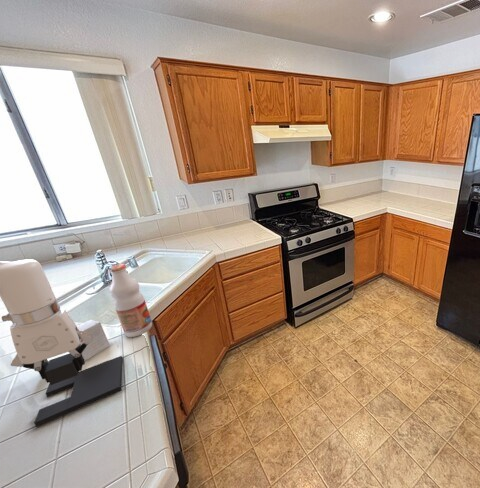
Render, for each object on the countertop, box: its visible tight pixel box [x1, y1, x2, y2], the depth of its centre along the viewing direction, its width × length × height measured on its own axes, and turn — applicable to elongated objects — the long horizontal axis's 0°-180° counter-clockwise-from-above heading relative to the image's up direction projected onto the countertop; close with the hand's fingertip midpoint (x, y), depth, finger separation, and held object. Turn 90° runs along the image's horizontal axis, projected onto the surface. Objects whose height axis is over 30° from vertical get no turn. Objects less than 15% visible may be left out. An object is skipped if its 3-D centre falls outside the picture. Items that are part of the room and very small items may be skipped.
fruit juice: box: [108, 263, 153, 338], centre depth 100 cm, size 9×9×28 cm
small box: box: [76, 319, 111, 361], centre depth 93 cm, size 8×6×10 cm
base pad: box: [33, 355, 124, 428], centre depth 79 cm, size 18×16×2 cm
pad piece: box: [44, 353, 79, 385], centre depth 66 cm, size 5×5×4 cm
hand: (65, 372), depth 67 cm, fingers closed on pad piece, 5 cm apart
